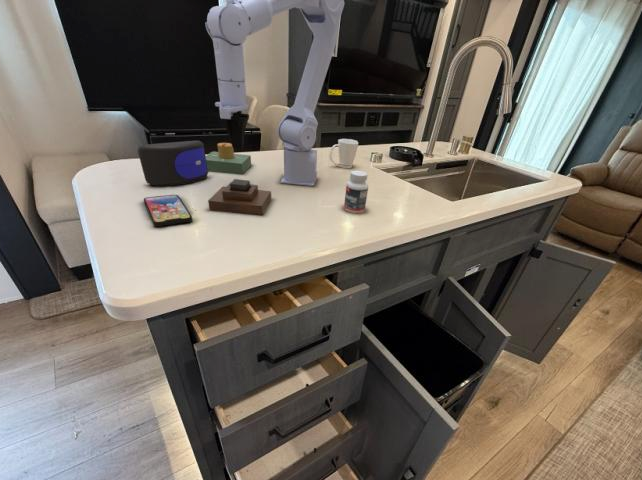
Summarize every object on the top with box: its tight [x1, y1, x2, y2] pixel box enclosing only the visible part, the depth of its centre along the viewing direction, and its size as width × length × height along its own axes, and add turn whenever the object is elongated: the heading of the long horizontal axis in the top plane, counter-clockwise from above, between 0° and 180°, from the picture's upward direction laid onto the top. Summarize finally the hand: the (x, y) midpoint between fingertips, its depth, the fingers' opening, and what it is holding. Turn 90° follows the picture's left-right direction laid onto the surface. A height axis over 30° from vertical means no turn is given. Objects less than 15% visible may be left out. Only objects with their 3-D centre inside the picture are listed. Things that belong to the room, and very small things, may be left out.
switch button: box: [229, 178, 251, 192], centre depth 74 cm, size 4×4×2 cm
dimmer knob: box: [216, 142, 235, 159], centre depth 96 cm, size 4×4×4 cm
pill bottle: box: [343, 170, 369, 214], centre depth 78 cm, size 5×5×9 cm
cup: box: [329, 138, 359, 169], centre depth 108 cm, size 7×10×8 cm
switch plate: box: [207, 183, 272, 216], centre depth 75 cm, size 12×10×4 cm
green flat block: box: [205, 151, 252, 175], centre depth 98 cm, size 12×10×3 cm
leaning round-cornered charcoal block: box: [137, 140, 209, 187], centre depth 82 cm, size 16×5×9 cm, turn 134°
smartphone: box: [143, 194, 193, 227], centre depth 70 cm, size 7×1×15 cm
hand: (237, 148), depth 78 cm, fingers closed
